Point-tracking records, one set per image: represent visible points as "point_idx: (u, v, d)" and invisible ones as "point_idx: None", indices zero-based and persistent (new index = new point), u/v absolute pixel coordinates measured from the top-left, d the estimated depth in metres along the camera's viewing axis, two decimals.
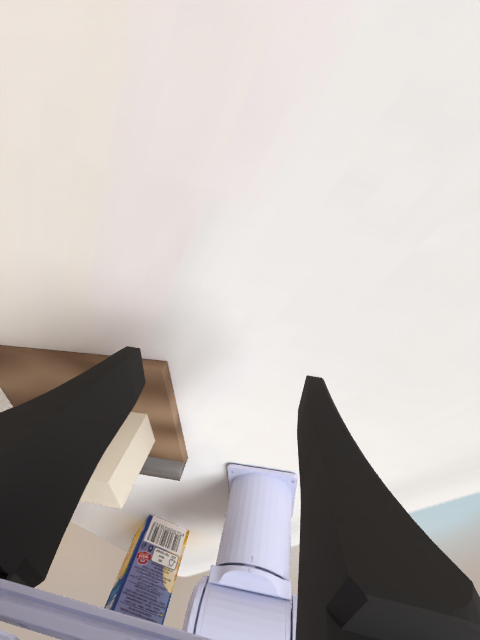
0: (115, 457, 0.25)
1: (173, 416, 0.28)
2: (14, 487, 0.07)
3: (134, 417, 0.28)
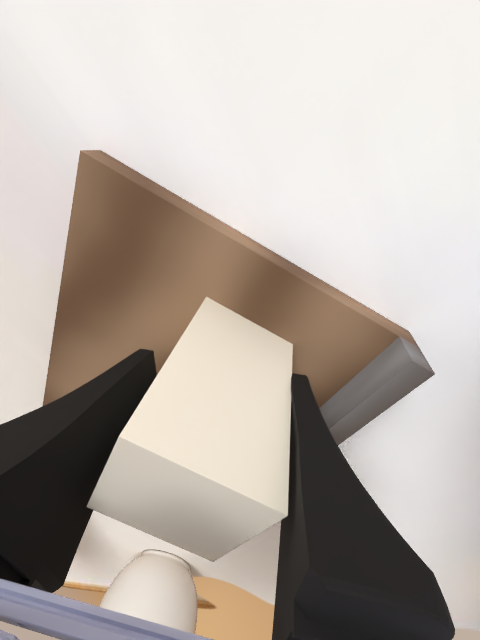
0: None
1: (237, 240, 0.11)
2: (36, 492, 0.07)
3: None
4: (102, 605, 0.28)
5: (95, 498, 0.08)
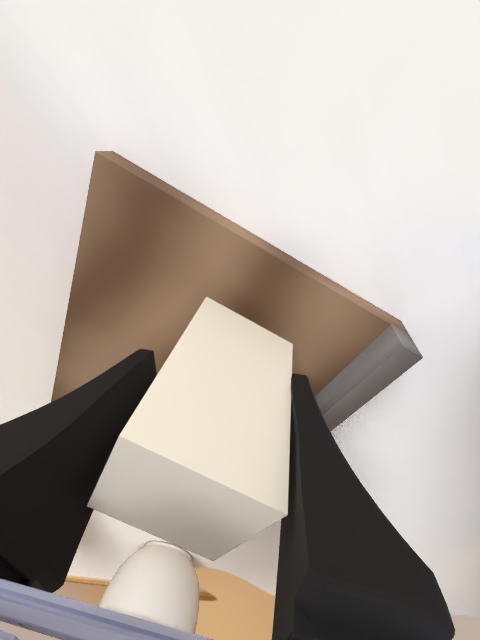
0: None
1: (240, 234, 0.12)
2: (36, 492, 0.07)
3: None
4: (107, 593, 0.29)
5: (95, 497, 0.08)
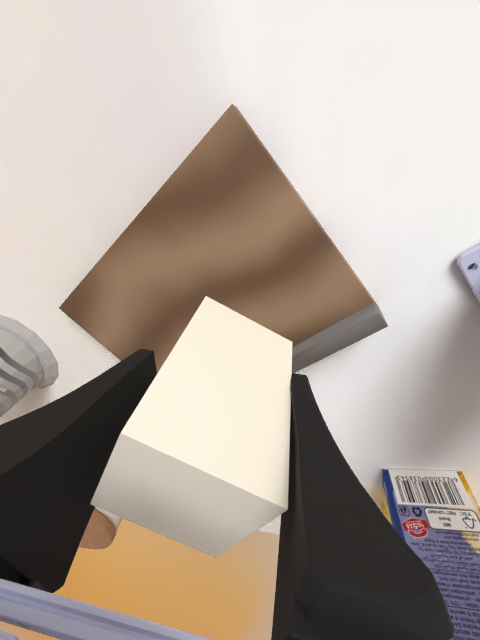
0: None
1: (305, 206, 0.16)
2: (37, 492, 0.07)
3: None
4: None
5: (98, 495, 0.08)
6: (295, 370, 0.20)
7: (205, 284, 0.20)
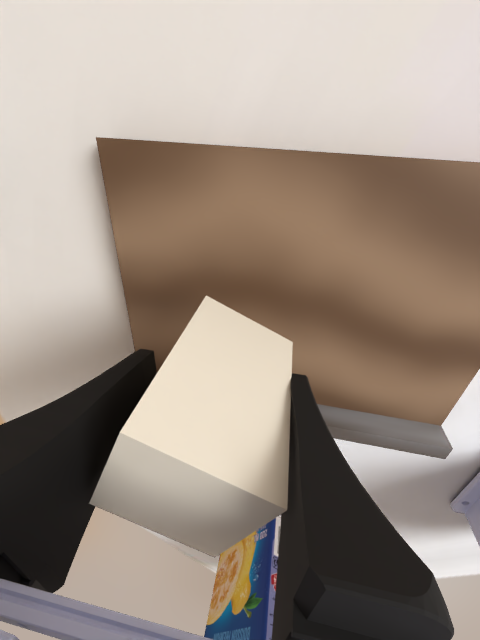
0: None
1: None
2: (37, 492, 0.07)
3: None
4: None
5: (97, 495, 0.08)
6: None
7: (334, 296, 0.14)
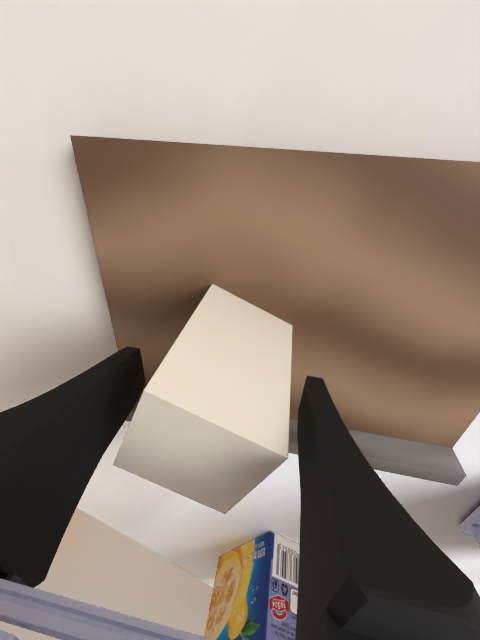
0: None
1: None
2: (14, 487, 0.07)
3: None
4: None
5: (121, 455, 0.09)
6: None
7: (337, 311, 0.13)
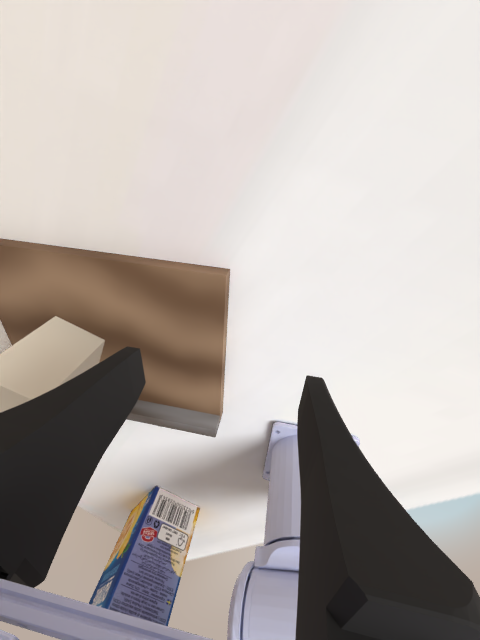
0: None
1: (223, 349, 0.22)
2: (14, 487, 0.07)
3: None
4: None
5: None
6: (144, 421, 0.26)
7: (124, 332, 0.23)
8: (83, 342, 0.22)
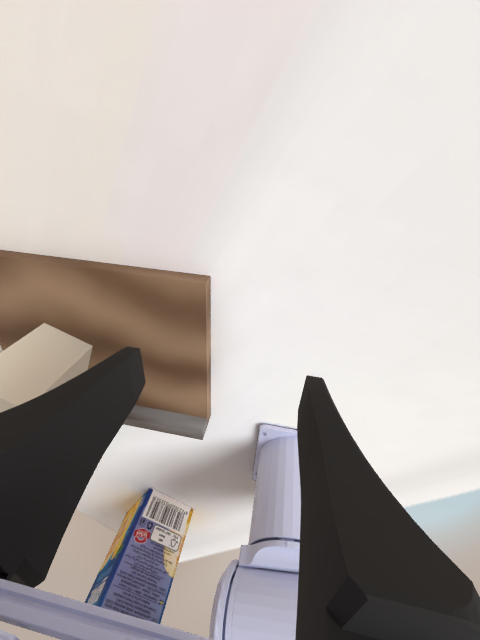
0: None
1: (207, 354, 0.22)
2: (14, 487, 0.07)
3: None
4: None
5: None
6: (133, 425, 0.26)
7: (110, 338, 0.23)
8: (71, 348, 0.23)
